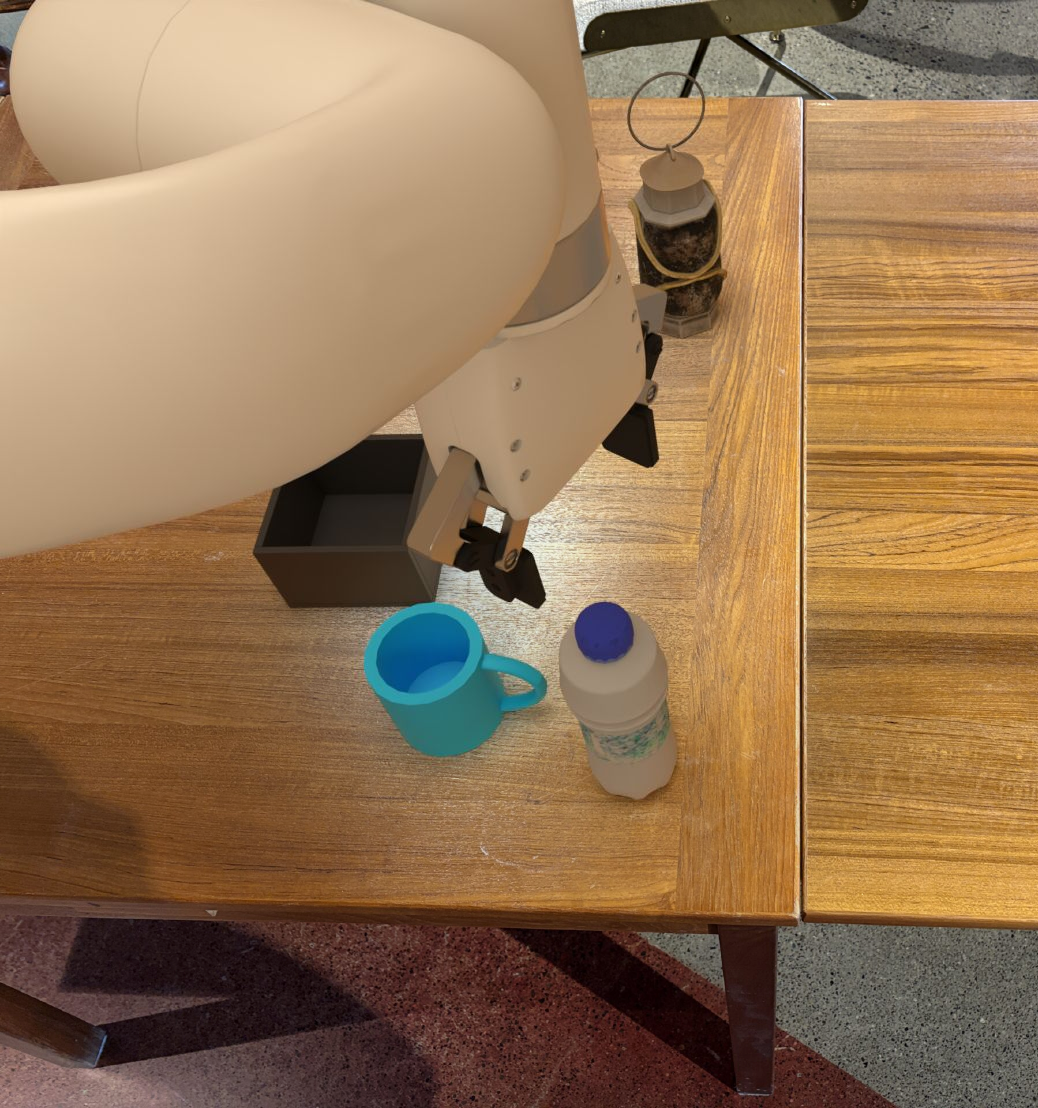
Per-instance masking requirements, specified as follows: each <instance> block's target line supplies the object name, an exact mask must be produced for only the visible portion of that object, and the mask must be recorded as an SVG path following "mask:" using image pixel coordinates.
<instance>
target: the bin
mask: <svg viewBox="0 0 1038 1108" xmlns="http://www.w3.org/2000/svg"><path fill="white" fill-rule="evenodd" d="M437 478H438V477H437V475H436V472H435V470H434V467H433V465H432V462H431V459H430V456H429V454H428V451H427V448H426V445H425V442H424V438H423V435H422V433H375V434H374V433H372V434H371V435H369V436H368V437H366V438H365V439H364V440H362V441H361V442H359V443H358V444H357V445H355V446H354V447H352V448H351V449H350V450H348V451H346V452H345V453H343V454H341V455H340V456H338V457H336V458H335V459H333V460H331V461H329V462H328V463H326V464H324V465H323V466H321V467H319V468H318V469H316V470H313V471H311V472H309V473H307V474H305V475H303V476H301V477H299V478H296V479H294V480H292V481H290V482H288V483H286V484H284V485H282V486H279V487H277V488H274V489H272V491H271V494H270V496H269V500H268V502H267V506H266V508H265V509H266V510H265V512H264V515H263V518H262V522H261V525H260V527H259V531H258V533H257V537H256V540H255V543H254V547H253V549H252V555H253V557H254V558H255V559H256V561H257V562H258V564H259V565H260V566H261V569H262V570H263V571H264V573H265V574H266V575H267V577H268V578H269V580H270V581H271V583H272V584H273V586H274V588H276V590H277V591H278V593H279V594H280V596H281V597H282V598H283V600H284V602H285V603H286V605H287V607H289V608H290V609H291V608H293V609H294V608H296V609H297V608H373V607H374V608H375V607H376V608H378V607H379V608H380V607H381V608H383V607H385V608H386V607H411V606H414V605H417V604H423V603H433V602H436V597H437V592H438V587H439V582H440V577H441V573H442V572H441V571H442V567H443V564H441V563H438V562H435V561H433V560H431V559H429V558H427V557H425V556H423V555H421V554H419V553H417V552H415V551H413V550H411V549H410V548H408V546H407V539H408V536H409V534H410V532H411V530H412V528H413V526H414V524H415V522H416V520H417V518H418V516H419V514H420V512H421V510H422V508H423V506H424V504H425V502H426V500H427V498H428V496H429V494H430V492H431V490H432V488H433V486H434V484H435V482H436V480H437Z"/></svg>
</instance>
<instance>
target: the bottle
mask: <svg viewBox="0 0 1038 1108" xmlns="http://www.w3.org/2000/svg"><path fill="white" fill-rule="evenodd" d="M557 655H558V656H557V657H558V673H559V677H558V680H559V688H560V692H561V695H562V697H563V699H564V701H565V704H566V706H567V708H568V709H569V711H570V714H572V715H573V716H574V718H575V719H576V720H577V723H578V725H579V729H580V732H581V735H582V737H583V739H584V744H585V750H586V757H587V761H588V765H589V768H590V770H591V772H592V775H593V776H594V778H595V779H596V780H597V782H598V783H599V785H600V786H601V787H602V789H603V790H605V792H607V793H609V794H610V795H614V796H615V795H616V796H617V795H618V796H623V797H628V798H631V799H632V800H637V801H639V800H642V799H645V798H646V797H647V796H649V794H651V793H652V792H654V791H656V790H658V789H660V788H664V787H665V786H666V785H668V783H669V782H670V781H671V778H672V776H673V773H674V770H675V768H676V767H675V766H676V764H677V760H678V755H679V754H678V753H679V748H678V746H679V745H678V741H677V737H676V733H675V730H674V727H673V724H672V720H671V718H670V711H669V705H668V700H667V694H668V690H669V667H668V662H667V658H666V655H665V653H664V651H663V650H662V648H661V646H660V644H659V641H658V639H657V637H656V634H655V633H654V630H653V628H652V627H651V626H650V625H649V624H648V622H647V621H646V620H644V619H643V618H642V617H641V616H640V615H637V614H636V613H634V612H632V611H629V610H626V609H625V608H623V607H622V605H620V604H618V603H616V602H612V601H606V600H605V601H597V602H594V603H591V604H589V605H588V606H586V607H585V608H583V609H582V610H581V611H580V612H579V614H578V616H577V617H576V619H575V622H573V623H572V624H571V625H570V626H569V628H567V630H566V631H565V632H564V635H563V637H562V639H561V640H560V644H559V648H558V654H557Z"/></svg>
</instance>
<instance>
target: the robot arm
mask: <svg viewBox="0 0 1038 1108" xmlns="http://www.w3.org/2000/svg"><path fill="white" fill-rule="evenodd" d="M574 5H575V4H574V0H35V1H34V2H33V3H32V4H31V6H30V7H29V8H28V11H27V12H26V14H25V16H24V18H23V20H22V22H21V24H20V26H19V27H18V30H17V32H16V36H15V38H14V42H13V45H12V50H11V57H10V63H9V72H8V73H9V93H10V98H11V102H12V109H13V112H14V115H15V117H16V121H17V124H18V126H19V128H20V131H21V134H22V136H23V137H24V140H25V141H26V143H27V145H28V147H29V148H30V150H31V152H32V153H33V155H34V156H35V158H36V159H37V160H38V162H39V163H40V165H42V167H43V168H44V170H46V171H47V173H48V174H49V175H50V176H51V177H52V178H53V179H54V180H55V181H56V182H57V183H58V184H59V185H50V186H42V187H41V186H40V187H33V188H24V189H12V190H0V560H5V559H10V558H16V557H21V556H24V555H29V554H34V553H39V552H43V551H49V550H54V549H58V548H62V547H67V546H72V545H75V544H76V545H77V544H81V543H83V542H88V541H91V540H92V541H93V540H96V539H100V538H105V537H109V536H112V535H117V534H121V533H125V532H130V531H133V530H138V529H141V528H145V527H151V526H154V525H159V524H162V523H166V522H172V521H175V520H179V519H184V518H188V517H191V516H195V515H199V514H201V513H205V512H207V511H210V510H214V509H218V508H222V507H226V506H230V505H233V504H236V503H239V502H241V501H244V500H246V499H250V498H252V497H255V496H258V495H260V494H264V493H267V492H269V491H271V490H272V491H273V489H274V488H277V487H279V486H282V485H284V484H286V483H288V482H290V481H292V480H294V479H296V478H299V477H301V476H303V475H305V474H307V473H309V472H311V471H313V470H316V469H318V468H319V467H321V466H323V465H324V464H326V463H328V462H329V461H331V460H333V459H335V458H336V457H338V456H340V455H341V454H343V453H345V452H346V451H348V450H350V449H351V448H352V447H354V446H355V445H357V444H358V443H359V442H361V441H362V440H364V439H365V438H366V437H368V436H369V435H371V434H374V433H375V432H376V431H379V429H381V428H383V427H384V426H385V425H387V424H388V423H390V422H391V421H393V420H394V419H395V418H396V417H397V416H399V415H400V414H402V413H403V412H404V411H405V410H407V409H409V408H410V407H411V406H413V407H414V410H415V414H416V418H417V422H418V425H419V428H420V431H421V434H422V435H423V438H424V442H425V445H426V448H427V451H428V454H429V456H430V459H431V462H432V465H433V467H434V470H435V472H436V475H437V477H438V478H437V480H436V482H435V484H434V486H433V488H432V490H431V492H430V494H429V496H428V498H427V500H426V502H425V504H424V506H423V508H422V510H421V512H420V514H419V516H418V518H417V520H416V522H415V524H414V526H413V528H412V530H411V532H410V534H409V536H408V539H407V546H408V548H410V549H411V550H413V551H415V552H417V553H419V554H421V555H423V556H425V557H427V558H429V559H431V560H433V561H435V562H438V563H441V564H442V565H444V566H447V567H450V568H455V569H458V570H460V571H462V572H464V573H472V572H476V571H477V572H479V575H480V577H481V581H482V582H483V585H484V587H485V588H486V590H487V591H488V592H490V593H491V594H492V595H493V596H495V597H496V598H498V599H500V600H502V601H503V602H505V603H509V604H510V603H513V601H514V600H515V599H516V600H518V601H520V602H521V603H524V604H525V605H527V606H530V607H531V608H534V609H535V610H540V608H541V607H542V606H543V605H544V604H545V602H546V601H547V598H546V597H547V593H546V589H545V587H544V583H543V581H542V577H541V573H540V572H539V567H538V565H537V562H536V558H535V555H534V553H533V552H532V551H531V550H529V549H527V548H526V547H524V542H525V538H526V535H527V531H528V527H529V523H530V521H531V517H533V516H535V515H537V514H539V513H540V512H541V511H542V510H544V509H545V508H546V507H547V506H548V505H549V504H550V503H551V502H552V501H553V500H554V498H555V497H556V496H557V495H558V494H559V493H560V492H561V491H562V490H563V489H564V487H565V486H566V485H567V484H568V483H569V482H570V481H571V479H572V478H573V477H574V476H575V475H576V474H577V473H578V471H579V470H580V469H581V468H582V467H583V465H584V464H585V463H586V462H587V461H588V460H589V458H590V457H591V456H592V455H593V454H594V453H595V451H596V450H597V449H598V448H599V447H600V446H602V448H603V449H604V450H606V451H608V452H609V453H612V454H614V455H616V456H618V457H621V458H623V459H625V460H627V461H630V462H632V463H634V464H637V465H639V466H641V467H643V468H645V469H649V468H654V467H655V465H656V464H657V463H658V462H659V461H660V454H659V445H658V438H657V431H656V423H655V417H654V410H653V408H650V407H649V406H651V405H652V404H653V403H654V402H655V400H656V399H657V396H658V393H659V383H658V382H657V381H655V380H652V379H653V375H654V373H655V370H656V367H657V364H658V361H659V359H660V355H661V354H662V352H663V350H664V348H663V346H664V344H663V343H664V339H663V336H661V335H659V333H660V331H659V330H660V329H662V324H663V319H664V313H665V307H666V302H667V293H666V292H665V291H663V290H660V289H657V288H655V287H652V286H650V285H647V284H644V283H641V284H640V283H639V284H635V285H632V280H631V277H630V274H629V271H628V267H627V264H626V261H625V257H624V256H623V252H622V250H621V248H620V244H619V242H618V239H617V238H616V235H615V233H614V230H613V228H612V225H611V224H610V223H609V222H608V219H607V212H606V205H605V198H604V193H603V187H602V180H601V176H600V171H599V164H598V163H599V159H600V156H599V152H598V149H597V148H596V143H595V136H594V130H593V123H592V116H591V108H590V102H589V97H588V96H589V95H588V88H587V83H586V76H585V70H584V69H585V68H584V65H583V64H584V62H583V57H582V56H583V55H582V51H581V44H580V43H581V42H580V38H579V31H578V25H577V18H576V17H577V16H576V12H575V11H576V10H575V6H574ZM488 506H489V507H491V508H493V509H494V510H497V511H499V512H501V513H503V514H504V516H503V520H502V524H501V528H500V531H497V530H495V529H494V528H491V527H489V526H488V525H484V522H485V518H486V514H487V511H488V508H489V507H488Z"/></svg>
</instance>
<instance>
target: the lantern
mask: <svg viewBox="0 0 1038 1108" xmlns="http://www.w3.org/2000/svg"><path fill="white" fill-rule="evenodd" d="M667 76H680V77H683V78H686V79H688V80H689V81H690V82H692V83H693V84H694V85H695V87H696V88H697V89H698V92H699V93H700V96H701V103H702V104H701V112H700V117H699V119H698V121H697V124H696V125H695V127H694V128H693V130H692V131H691V132H690V133H689V134H688V135H687V136H686V137H684V138H683V139H682V140H681V141H679V142H677V143H675V144H671V143H670V142H667V143H666V144H665V146H664V147H654V146H649V145H648V144H645V143H644V142H642V141H641V140H640V139H639V138H638V137H637V136H636V134H635V132H634V130H633V128H632V124H631V113H632V108H633V105H634V102H635V101H636V98H637V97H638V95H639V94H640V93H641V92H642V90H644V88H645V87H646V86H648V85H649V84H651V83H652V82H653V81H655V80H657V79H660V78H662V77H667ZM705 112H706V98H705V93H704V91H703V88H702V87H701V85H700V83H699V82H698V81H697V80H696V79H695V78H694V77H693V76H691V75H690V74H687V73H684V72H680V71H672V70H671V71H664V72H661V73H658V74H655V75H653V76H652V77H650V78H648V79H647V80H646V81H644V82H643V83H642V84H641V85H640V86H639V87H638V88H637V90H636V91H635V92H634V94H633V96H632V97H631V100H630V103H629V104H628V109H627V113H626V117H627V118H626V119H627V121H626V122H627V127H628V131H629V133H630V135H631V138H633V140H634V141H635V142H636V143H637V144H638V145H640V146H641V147H642V148H645V149H647V150H649V151H655V152H662V153H660V154H657V155H655V156H652V157H650V158H647V159H646V160H645V161H643V162H642V164H641V165H640V166H639V169H638V172H639V176H640V178H641V180H642V185H641V186H640V188H639V189H638V190H637V192H636V193H635V195H634V196H633V198H631V200H628V203H627V209H628V210H629V211H630V213H631V215H632V217H633V222H634V231H635V233H634V234H635V243H636V255H637V264H638V274H639V276H638V277H639V284H641V283H644V284H647V285H650V286H652V287H655V288H657V289H660V290H663V291H665V292H666V293H667V302H666V307H665V313H664V319H663V324H662V329H660V330H659V333H661V334H665V335H668V336H672V337H675V338H679V339H683V338H686V337H690V336H694V335H696V334H700V333H703V332H706V331H709V330H712V327H713V326H714V324H715V322H716V320H717V318H718V317H719V315H720V314H719V313H720V312H719V302H718V298H719V297H720V295H721V293H722V289H723V284H724V283H723V282H724V281H725V280H726V279H727V277H728V270H727V269H725V268H723V267H722V266H723V265H722V256H721V254H722V253H721V249H722V241H723V211H722V206H721V202H720V200H719V197H718V195H717V193H716V191H715V189H714V187H713V185H712V183H711V182H710V181H709V180H708V179H706V178H703V177H704V175H705V168H704V165H703V163H702V162H701V160H699V159H698V158H697V157H696V156H695V155H694V154H691V153H689V152H685V151H676V150H675V148H678V147H680V146H682V145H684V144H685V143H686V142H687V141H689V140H690V139H691V138H692V137H693V136H694V135H695V133H696V132H697V131H698V129H699V128H700V126H701V124H702V122H703V119H704V116H705Z"/></svg>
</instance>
